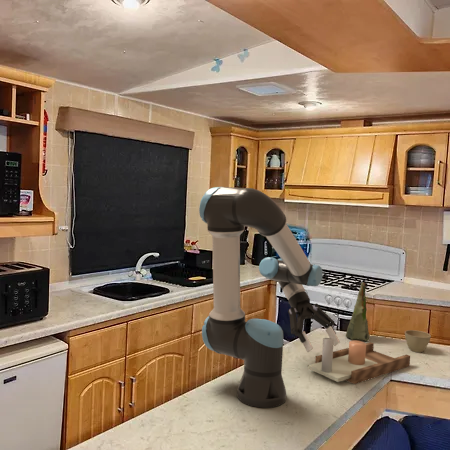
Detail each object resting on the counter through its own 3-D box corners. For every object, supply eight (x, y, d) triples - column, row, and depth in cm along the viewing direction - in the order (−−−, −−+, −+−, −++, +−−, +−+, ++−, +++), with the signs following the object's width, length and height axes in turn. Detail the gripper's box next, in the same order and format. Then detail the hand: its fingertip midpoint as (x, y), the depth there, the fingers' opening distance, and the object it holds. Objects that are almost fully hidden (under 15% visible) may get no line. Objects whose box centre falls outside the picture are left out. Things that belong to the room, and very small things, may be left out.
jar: (348, 364, 172) (350, 345, 171) (347, 357, 178) (348, 339, 177) (366, 365, 171) (367, 346, 170) (363, 359, 177) (365, 341, 176)
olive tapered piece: (359, 333, 218) (362, 279, 216) (377, 341, 207) (381, 285, 205) (339, 335, 214) (342, 280, 212) (356, 344, 203) (360, 286, 201)
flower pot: (425, 356, 191) (427, 339, 190) (400, 350, 197) (401, 333, 196) (432, 350, 199) (433, 333, 198) (407, 344, 205) (408, 328, 204)
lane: (354, 384, 160) (355, 372, 160) (315, 366, 175) (315, 356, 174) (409, 366, 179) (410, 355, 179) (369, 351, 194) (370, 342, 193)
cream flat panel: (337, 382, 158) (339, 346, 158) (308, 368, 169) (309, 335, 168) (382, 368, 173) (384, 335, 172) (352, 356, 184) (353, 325, 183)
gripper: (314, 297, 188) (341, 346, 177) (266, 304, 173) (292, 358, 162) (325, 287, 183) (353, 336, 172) (276, 293, 168) (304, 347, 158)
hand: (324, 347), depth 167 cm, fingers open, 13 cm apart
